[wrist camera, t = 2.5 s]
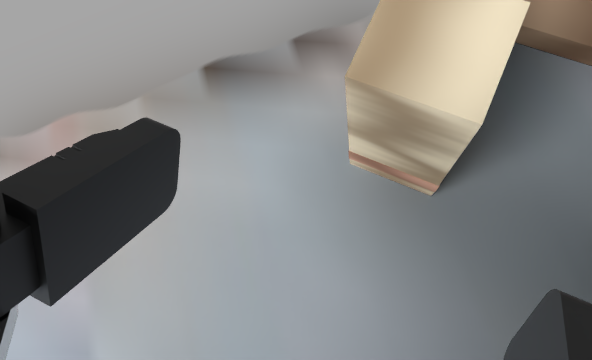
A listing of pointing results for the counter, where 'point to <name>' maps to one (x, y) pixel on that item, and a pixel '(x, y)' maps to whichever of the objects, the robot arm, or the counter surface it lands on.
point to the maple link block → (426, 84)
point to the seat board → (559, 28)
